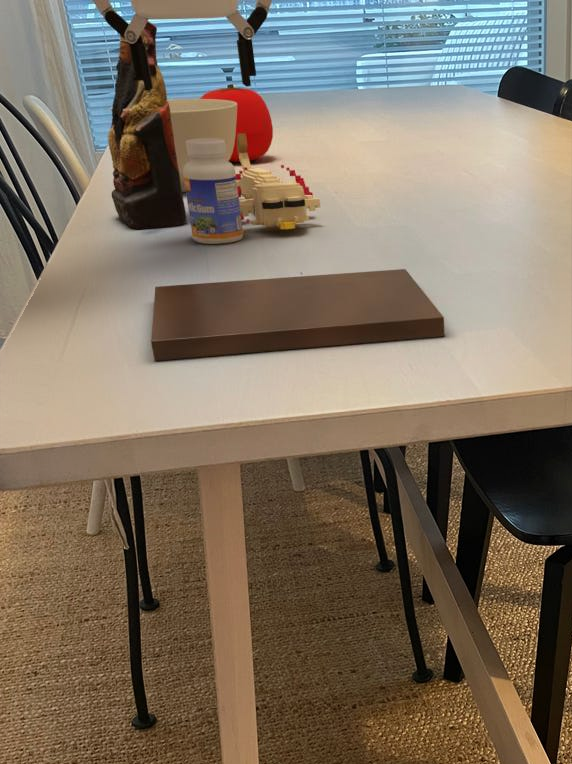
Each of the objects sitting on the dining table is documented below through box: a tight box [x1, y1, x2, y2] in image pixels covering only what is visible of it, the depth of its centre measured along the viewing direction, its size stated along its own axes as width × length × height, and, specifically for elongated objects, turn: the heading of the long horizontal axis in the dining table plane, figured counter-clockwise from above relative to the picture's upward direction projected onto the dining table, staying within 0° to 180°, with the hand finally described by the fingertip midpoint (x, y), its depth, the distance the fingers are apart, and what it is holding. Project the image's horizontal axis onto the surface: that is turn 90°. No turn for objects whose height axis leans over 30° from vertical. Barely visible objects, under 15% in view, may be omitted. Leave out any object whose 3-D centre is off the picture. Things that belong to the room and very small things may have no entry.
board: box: [150, 268, 445, 362], centre depth 81 cm, size 22×16×2 cm
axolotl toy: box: [236, 134, 321, 230], centre depth 115 cm, size 10×9×25 cm
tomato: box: [199, 83, 274, 163], centre depth 151 cm, size 12×12×10 cm
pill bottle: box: [183, 138, 244, 245], centre depth 104 cm, size 5×5×10 cm
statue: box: [107, 20, 187, 230], centre depth 110 cm, size 12×8×20 cm, turn 22°
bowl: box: [110, 98, 237, 193], centre depth 131 cm, size 16×16×10 cm
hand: (198, 87), depth 99 cm, fingers open, 9 cm apart
